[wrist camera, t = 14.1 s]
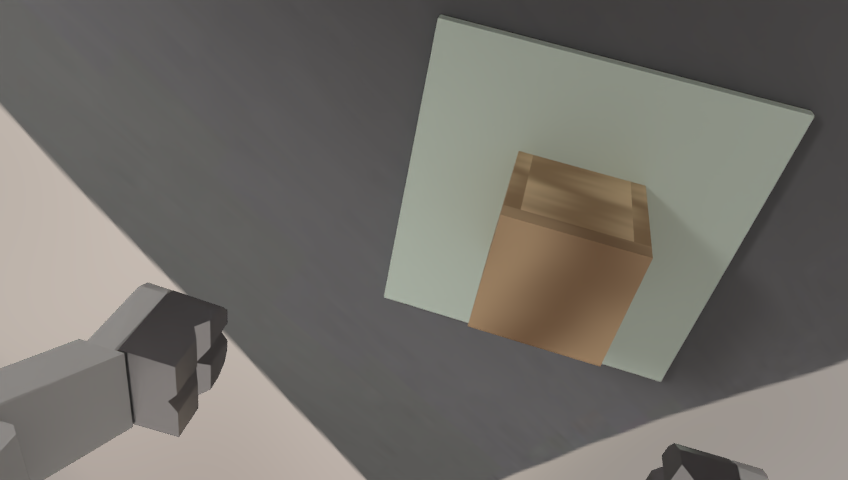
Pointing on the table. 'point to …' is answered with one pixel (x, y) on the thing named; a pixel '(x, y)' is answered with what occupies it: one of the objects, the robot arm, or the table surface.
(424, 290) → the sage mat
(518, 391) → the table surface
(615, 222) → the oak block
